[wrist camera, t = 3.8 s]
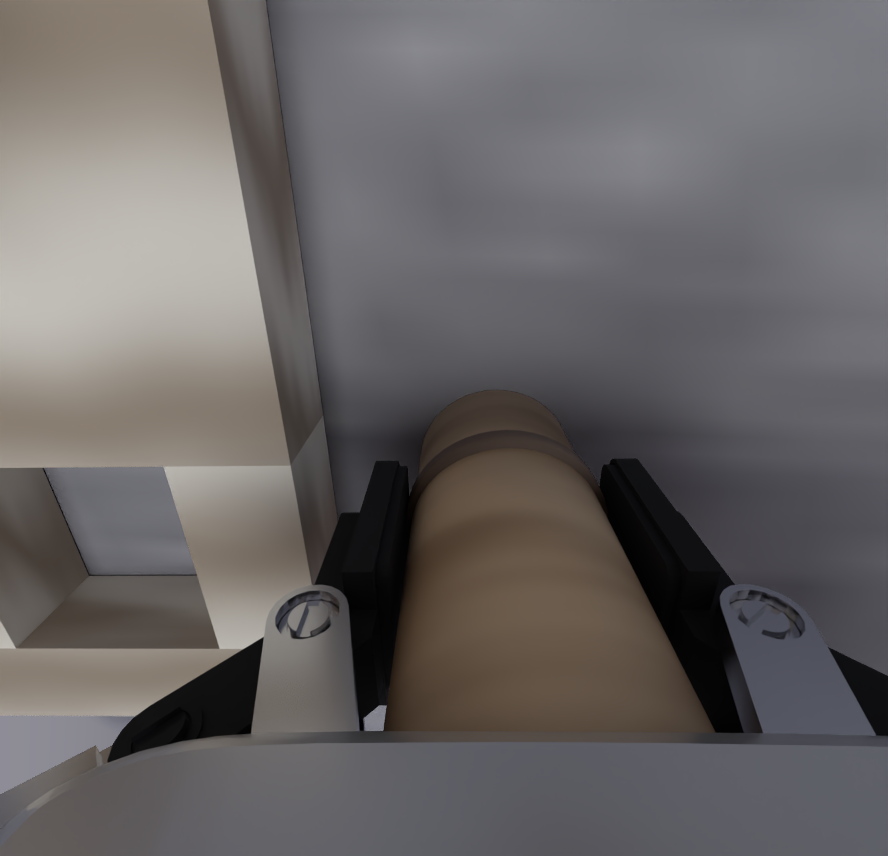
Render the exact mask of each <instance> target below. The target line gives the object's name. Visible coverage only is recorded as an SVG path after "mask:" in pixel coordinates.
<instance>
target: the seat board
mask: <svg viewBox="0 0 888 856" xmlns="http://www.w3.org/2000/svg"><path fill="white" fill-rule="evenodd" d="M55 467H164V470H165V473H166V476H167V479H168V483H169V486H170V489H171V492H172V496H173V499H174V502H175V505H176V509H177V512H178V515H179V518H180V522H181V525H182V528H183V531H184V535H185V538H186V541H187V544H188V548H189V551H190V554H191V557H192V561H193V564H194V567H195V570H196V573H197V576H89V575H88V572H87V570H86V568H85V566H84V563H83V561H82V559H81V556H80V554H79V552H78V549H77V547H76V545H75V542H74V540H73V538H72V535H71V533H70V531H69V528H68V526H67V524H66V522H65V519H64V517H63V515H62V512H61V510H60V508H59V505H58V503H57V501H56V498H55V496H54V494H53V491H52V489H51V487H50V485H49V482H48V480H47V478H46V475H45V473H44V471H43V468H55ZM337 523H338V519H337V512H336V505H335V497H334V490H333V483H332V476H331V469H330V461H329V454H328V447H327V440H326V432H325V425H324V418H323V411H322V403H321V396H320V389H319V382H318V374H317V367H316V360H315V353H314V345H313V338H312V331H311V324H310V316H309V309H308V302H307V295H306V287H305V280H304V273H303V266H302V259H301V251H300V244H299V237H298V230H297V222H296V215H295V208H294V201H293V193H292V186H291V179H290V172H289V164H288V157H287V150H286V143H285V135H284V128H283V121H282V114H281V106H280V99H279V92H278V85H277V77H276V70H275V63H274V56H273V49H272V41H271V34H270V27H269V20H268V12H267V5H266V0H0V715H9V716H10V715H12V716H17V715H19V716H25V715H26V716H136V715H138V714H139V713H141V712H142V711H143V710H145V709H146V708H147V707H149V706H150V705H152V704H153V703H155V702H157V701H158V700H160V699H162V698H163V697H165V696H167V695H168V694H170V693H172V692H173V691H175V690H177V689H178V688H180V687H181V686H183V685H185V684H186V683H188V682H190V681H191V680H193V679H195V678H196V677H198V676H200V675H201V674H203V673H205V672H206V671H208V670H210V669H211V668H213V667H215V666H216V665H218V664H219V663H221V662H223V661H224V660H226V659H228V658H229V657H231V656H233V655H234V654H236V653H238V652H239V651H241V650H243V649H244V648H246V647H248V646H249V645H251V644H253V643H254V642H256V641H257V640H259V639H261V638H262V637H264V633H265V626H266V620H267V617H268V614H269V611H270V610H271V609H272V607H273V606H274V605H275V603H276V602H277V601H278V600H280V599H281V598H282V597H283V596H285V595H286V594H288V593H290V592H292V591H294V590H296V589H298V588H302V587H305V586H309V585H314V584H315V582H316V579H317V576H318V574H319V571H320V568H321V566H322V563H323V560H324V558H325V555H326V552H327V549H328V547H329V544H330V541H331V539H332V536H333V533H334V531H335V528H336V525H337Z"/></svg>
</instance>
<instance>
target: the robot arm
mask: <svg viewBox="0 0 888 856" xmlns="http://www.w3.org/2000/svg"><path fill="white" fill-rule="evenodd" d="M600 489H601V491H602V494H603V496H604V498H605V501H606V505H607V509H608V517H607V518H608V520H609V522H610V524H611V526H612V528H613V530H614V532H615V534H616V536H617V538H618V540H619V542H620V544H621V546H622V548H623V550H624V552H625V554H626V556H627V558H628V560H629V562H630V564H631V566H632V568H633V570H634V572H635V574H636V576H637V578H638V580H639V582H640V584H641V586H642V588H643V590H644V592H645V594H646V596H647V598H648V600H649V602H650V603H651V605H652V607H653V609H654V611H655V613H656V615H657V617H658V619H659V621H660V623H661V625H662V627H663V629H664V631H665V633H666V635H667V637H668V639H669V641H670V643H671V645H672V647H673V649H674V651H675V653H676V655H677V657H678V659H679V661H680V663H681V665H682V667H683V669H684V671H685V673H686V675H687V677H688V679H689V681H690V683H691V685H692V687H693V689H694V691H695V693H696V695H697V697H698V699H699V700H700V702H701V704H702V706H703V708H704V710H705V712H706V714H707V716H708V718H709V720H710V722H711V724H712V726H713V728H714V730H715V732H716V733H692V732H551V731H365V720H364V717H366V716H367V715H368V714H369V713H370V712H372V711H373V710H374V709H375V708H376V707H378V706H379V705H387V700H388V693H389V686H390V678H391V671H392V664H393V656H394V649H395V641H396V634H397V627H398V619H399V612H400V604H401V597H402V590H403V582H404V575H405V567H406V560H407V553H408V531H407V516H406V514H407V507H408V501H409V482H408V468H407V466H400V464H399V461H376V463H375V466H374V469H373V472H372V475H371V479H370V482H369V485H368V488H367V492H366V495H365V498H364V501H363V504H362V508H361V511H360V513H342V514H341V516H340V517H339V520H338V523H337V525H336V528H335V531H334V533H333V536H332V539H331V541H330V544H329V547H328V549H327V552H326V555H325V558H324V560H323V563H322V566H321V568H320V571H319V574H318V576H317V579H316V582H315V584H314V585H309V586H305V587H302V588H298V589H296V590H294V591H292V592H290V593H288V594H286V595H285V596H283V597H282V598H281V599H280V600H278V601H277V602H276V603H275V605H274V606H273V607H272V609H271V610H270V611H269V614H268V617H267V620H266V626H265V633H264V637H262V638H261V639H259V640H257V641H256V642H254V643H253V644H251V645H249V646H248V647H246V648H244V649H243V650H241V651H239V652H238V653H236V654H234V655H233V656H231V657H229V658H228V659H226V660H224V661H223V662H221V663H219V664H218V665H216V666H215V667H213V668H211V669H210V670H208V671H206V672H205V673H203V674H201V675H200V676H198V677H196V678H195V679H193V680H191V681H190V682H188V683H186V684H185V685H183V686H181V687H180V688H178V689H177V690H175V691H173V692H172V693H170V694H168V695H167V696H165V697H163V698H162V699H160V700H158V701H157V702H155V703H153V704H152V705H150V706H149V707H147V708H146V709H145V710H143V711H142V712H141V713H139V714H138V715H136V716H135V717H134V718H133V719H132V720H131V721H130V722H129V723H128V724H127V725H126V726H125V727H124V729H123V730H122V731H121V732H120V734H119V736H118V737H117V739H116V740H115V742H114V743H113V745H112V746H110V747H108V748H106V749H104V750H102V751H101V752H99V751H98V749H97V747H96V746H94V747H92V748H90V749H88V750H86V751H84V752H82V753H80V754H78V755H76V756H74V757H72V758H71V759H68V760H66V761H65V762H63V763H61V764H59V765H57V766H55V767H53V768H51V769H49V770H47V771H45V772H43V773H41V774H40V775H37V776H35V777H33V778H32V779H30V780H28V781H26V782H24V783H22V784H20V785H18V786H16V787H14V788H12V789H10V790H8V791H6V792H4V793H2V794H0V856H888V676H887V675H885V674H882V673H880V672H878V671H876V670H874V669H872V668H870V667H868V666H866V665H864V664H862V663H860V662H858V661H856V660H854V659H851V658H849V657H847V656H845V655H843V654H841V653H839V652H837V651H835V650H833V649H831V648H829V647H827V645H826V643H825V641H824V639H823V637H822V636H821V634H820V632H819V630H818V628H817V627H816V625H815V623H814V621H813V620H812V619H811V617H810V616H809V615H808V613H807V612H806V611H805V610H804V609H803V608H802V607H800V606H799V605H798V604H797V603H796V602H794V601H793V600H791V599H789V598H788V597H786V596H784V595H783V594H781V593H778V592H776V591H773V590H771V589H769V588H765V587H761V586H757V585H752V584H737V585H735V584H734V583H733V582H732V580H731V579H730V578H729V576H728V575H727V574H726V572H725V571H724V570H723V568H722V567H721V566H720V564H719V563H718V562H717V560H716V559H715V558H714V556H713V555H712V554H711V552H710V551H709V550H708V548H707V547H706V546H705V545H704V543H703V542H702V541H701V539H700V538H699V537H698V535H697V534H696V533H695V531H694V530H693V529H692V527H691V526H690V525H689V523H688V522H687V521H686V519H685V518H684V517H683V516H682V515H681V514H680V513H679V512H677V511H676V510H675V509H674V507H673V506H672V505H671V503H670V502H669V501H668V499H667V498H666V497H665V495H664V494H663V493H662V491H661V490H660V489H659V487H658V486H657V485H656V483H655V482H654V480H653V479H652V478H651V476H650V475H649V474H648V472H647V471H646V470H645V468H644V467H643V466H642V464H641V463H640V462H639V460H637V459H612V460H611V461H610V464H609V465H604V466H603V468H602V472H601V479H600Z"/></svg>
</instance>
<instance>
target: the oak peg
mask: <svg viewBox="0 0 888 856" xmlns="http://www.w3.org/2000/svg"><path fill="white" fill-rule="evenodd" d="M406 516H407V531H408V553H407V560H406V567H405V575H404V582H403V590H402V597H401V604H400V612H399V619H398V627H397V634H396V641H395V649H394V656H393V664H392V671H391V678H390V686H389V693H388V701H387V708H386V715H385V723H384V730H383V731H551V732H692V733H716V732H715V730H714V728H713V726H712V724H711V722H710V720H709V718H708V716H707V714H706V712H705V710H704V708H703V706H702V704H701V702H700V700H699V699H698V697H697V695H696V693H695V691H694V689H693V687H692V685H691V683H690V681H689V679H688V677H687V675H686V673H685V671H684V669H683V667H682V665H681V663H680V661H679V659H678V657H677V655H676V653H675V651H674V649H673V647H672V645H671V643H670V641H669V639H668V637H667V635H666V633H665V631H664V629H663V627H662V625H661V623H660V621H659V619H658V617H657V615H656V613H655V611H654V609H653V607H652V605H651V603H650V602H649V600H648V598H647V596H646V594H645V592H644V590H643V588H642V586H641V584H640V582H639V580H638V578H637V576H636V574H635V572H634V570H633V568H632V566H631V564H630V562H629V560H628V558H627V556H626V554H625V552H624V550H623V548H622V546H621V544H620V542H619V540H618V538H617V536H616V534H615V532H614V530H613V528H612V526H611V524H610V522H609V520H608V518H607V517H608V509H607V505H606V501H605V498H604V496H603V494H602V491H601V489H600V487H599V485H598V483H597V482H596V480H595V478H594V476H593V474H592V473H591V471H590V470H589V468H588V467H587V465H586V464H585V463H584V462H583V461H582V459H581V458H580V457H579V456H578V455H576V454H575V453H574V451H573V449H572V447H571V445H570V443H569V441H568V439H567V437H566V435H565V433H564V431H563V429H562V427H561V425H560V424H559V422H558V421H557V419H556V418H555V416H554V415H553V414H552V413H551V412H550V411H549V410H548V409H547V408H546V407H545V406H543V405H542V404H541V403H539V402H538V401H536V400H534V399H532V398H530V397H528V396H526V395H523V394H520V393H517V392H512V391H506V390H489V391H482V392H477V393H473V394H470V395H467V396H465V397H462V398H460V399H458V400H456V401H455V402H453V403H452V404H450V405H448V406H447V407H446V408H445V409H444V410H443V411H441V412H440V413H439V415H438V416H437V417H436V418H435V419H434V420H433V422H432V423H431V425H430V426H429V428H428V430H427V432H426V434H425V437H424V440H423V444H422V449H421V456H420V464H419V471H418V477H417V479H416V481H415V483H414V485H413V487H412V490H411V493H410V496H409V501H408V507H407V514H406Z"/></svg>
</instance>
